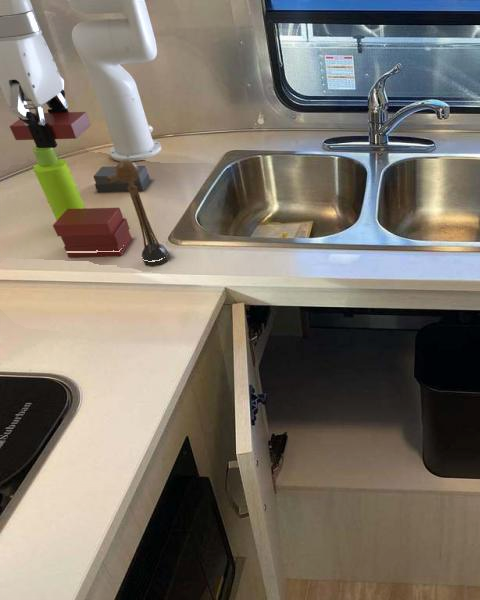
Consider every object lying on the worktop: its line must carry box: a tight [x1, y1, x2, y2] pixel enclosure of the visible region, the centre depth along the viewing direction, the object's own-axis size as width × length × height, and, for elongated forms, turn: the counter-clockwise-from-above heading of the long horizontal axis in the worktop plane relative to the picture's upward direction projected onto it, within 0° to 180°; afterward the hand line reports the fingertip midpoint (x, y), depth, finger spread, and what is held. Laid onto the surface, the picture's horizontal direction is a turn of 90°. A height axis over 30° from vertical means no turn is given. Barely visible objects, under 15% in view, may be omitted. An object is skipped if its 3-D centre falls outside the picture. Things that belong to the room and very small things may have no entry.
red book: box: [9, 111, 92, 141], centre depth 94 cm, size 10×6×2 cm, turn 92°
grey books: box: [93, 165, 151, 193], centre depth 128 cm, size 10×5×4 cm, turn 92°
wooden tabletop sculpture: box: [106, 160, 171, 268], centre depth 99 cm, size 6×5×20 cm
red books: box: [52, 207, 133, 258], centre depth 106 cm, size 10×6×7 cm, turn 92°
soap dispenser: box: [32, 145, 86, 221], centre depth 110 cm, size 6×7×20 cm
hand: (56, 138), depth 95 cm, fingers closed on red book, 6 cm apart
